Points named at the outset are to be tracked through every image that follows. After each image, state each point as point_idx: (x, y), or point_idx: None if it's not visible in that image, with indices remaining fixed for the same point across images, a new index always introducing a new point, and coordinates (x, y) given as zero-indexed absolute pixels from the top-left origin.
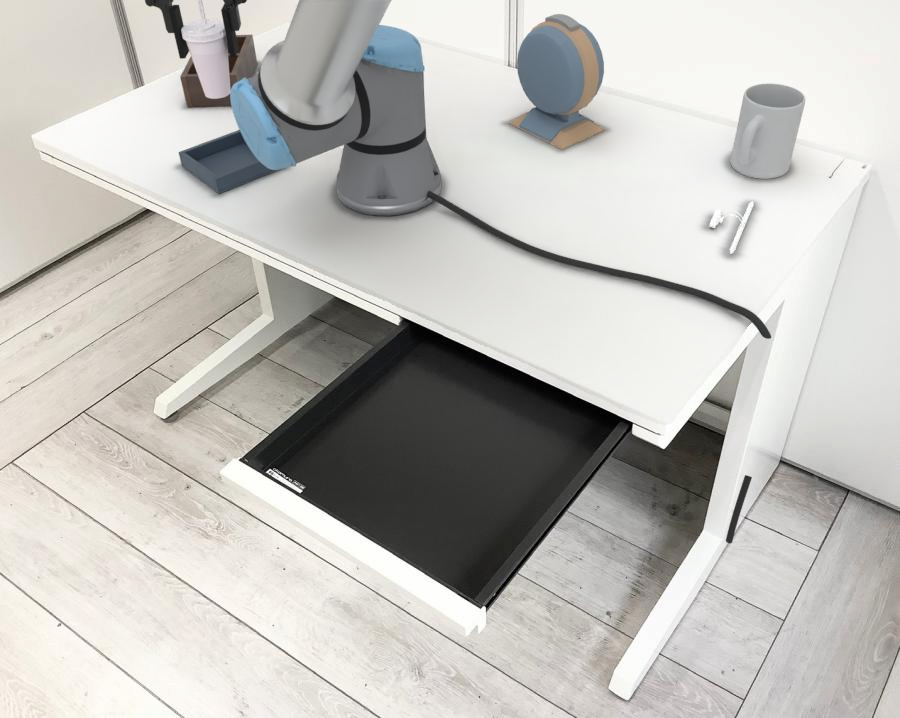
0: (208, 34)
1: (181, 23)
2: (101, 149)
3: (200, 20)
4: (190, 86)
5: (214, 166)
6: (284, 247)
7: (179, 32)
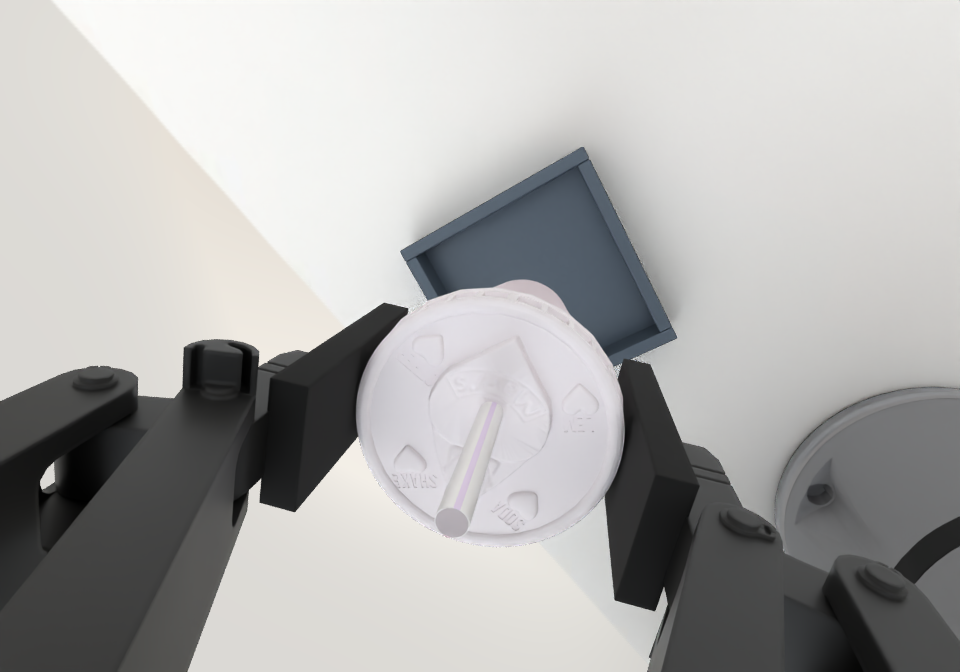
0: (510, 545)
1: (351, 379)
2: (198, 87)
3: (462, 310)
4: None
5: (492, 286)
6: (620, 630)
7: (350, 443)
